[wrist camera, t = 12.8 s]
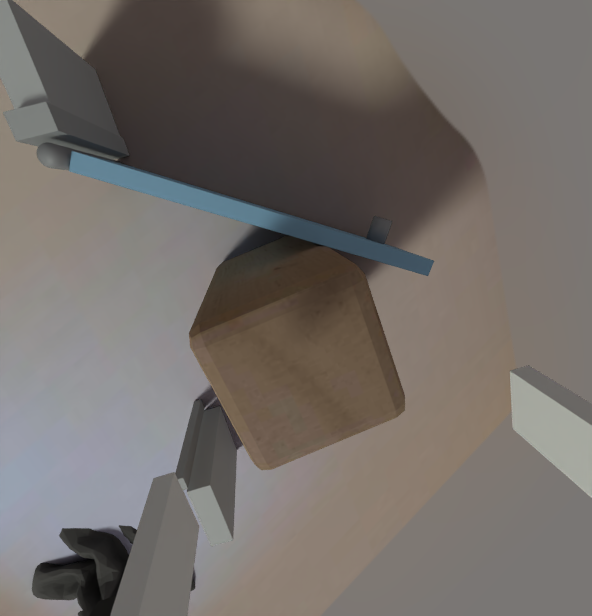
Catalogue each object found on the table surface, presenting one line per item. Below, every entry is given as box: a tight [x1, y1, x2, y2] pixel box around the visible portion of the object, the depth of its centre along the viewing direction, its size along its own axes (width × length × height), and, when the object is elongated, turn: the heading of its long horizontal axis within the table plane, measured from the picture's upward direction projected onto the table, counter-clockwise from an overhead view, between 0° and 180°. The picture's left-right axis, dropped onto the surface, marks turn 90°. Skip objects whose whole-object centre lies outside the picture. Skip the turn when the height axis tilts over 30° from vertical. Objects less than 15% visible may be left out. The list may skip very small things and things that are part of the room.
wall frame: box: [0, 0, 237, 547], centre depth 31 cm, size 41×3×13 cm, turn 14°
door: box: [37, 142, 434, 276], centre depth 29 cm, size 27×3×12 cm, turn 73°
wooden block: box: [189, 235, 405, 470], centre depth 29 cm, size 10×10×20 cm
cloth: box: [32, 525, 195, 616], centre depth 44 cm, size 22×19×6 cm
